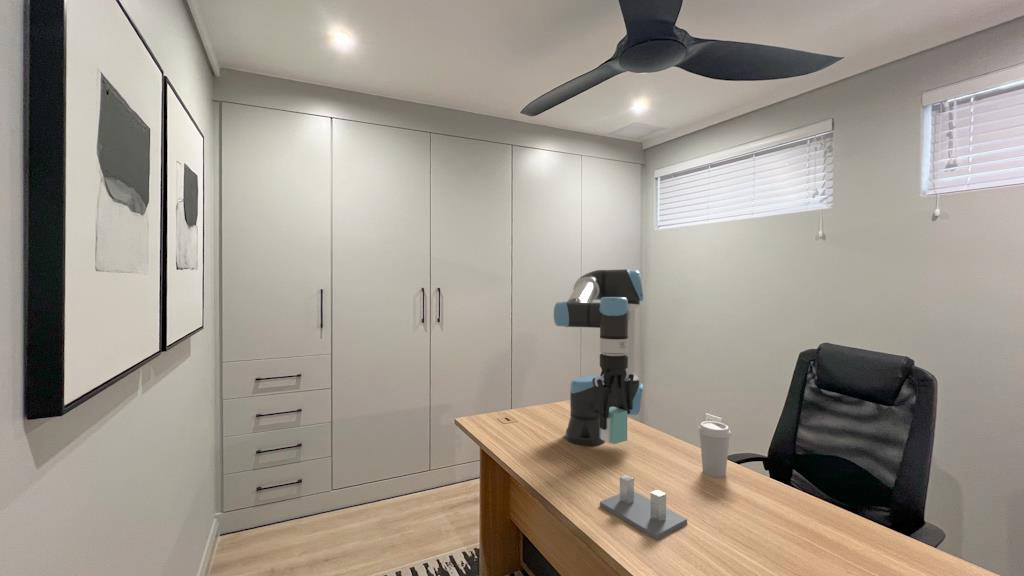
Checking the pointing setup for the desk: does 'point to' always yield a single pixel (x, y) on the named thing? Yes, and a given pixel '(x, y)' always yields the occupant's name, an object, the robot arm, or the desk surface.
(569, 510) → the desk surface
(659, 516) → the post
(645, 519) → the slate board
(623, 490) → the post
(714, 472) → the coffee cup
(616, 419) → the tall teal pillar
